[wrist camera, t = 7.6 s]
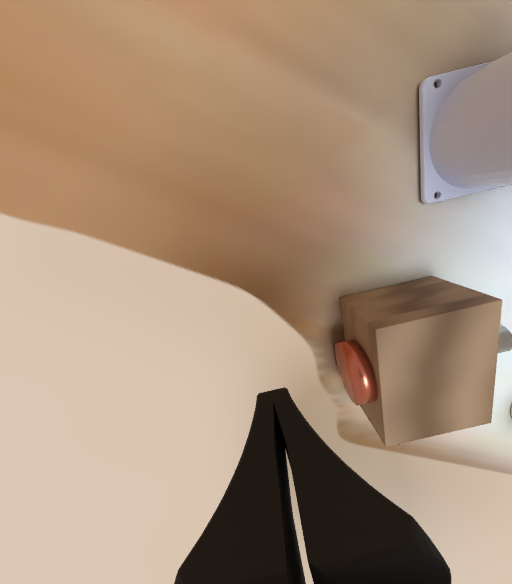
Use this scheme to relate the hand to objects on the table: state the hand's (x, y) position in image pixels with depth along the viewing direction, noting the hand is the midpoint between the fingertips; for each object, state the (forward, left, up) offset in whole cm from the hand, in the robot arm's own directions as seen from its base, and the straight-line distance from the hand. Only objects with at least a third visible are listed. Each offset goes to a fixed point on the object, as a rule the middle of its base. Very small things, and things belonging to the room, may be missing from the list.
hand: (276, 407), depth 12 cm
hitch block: (-11, +5, -10) cm, 16 cm away
